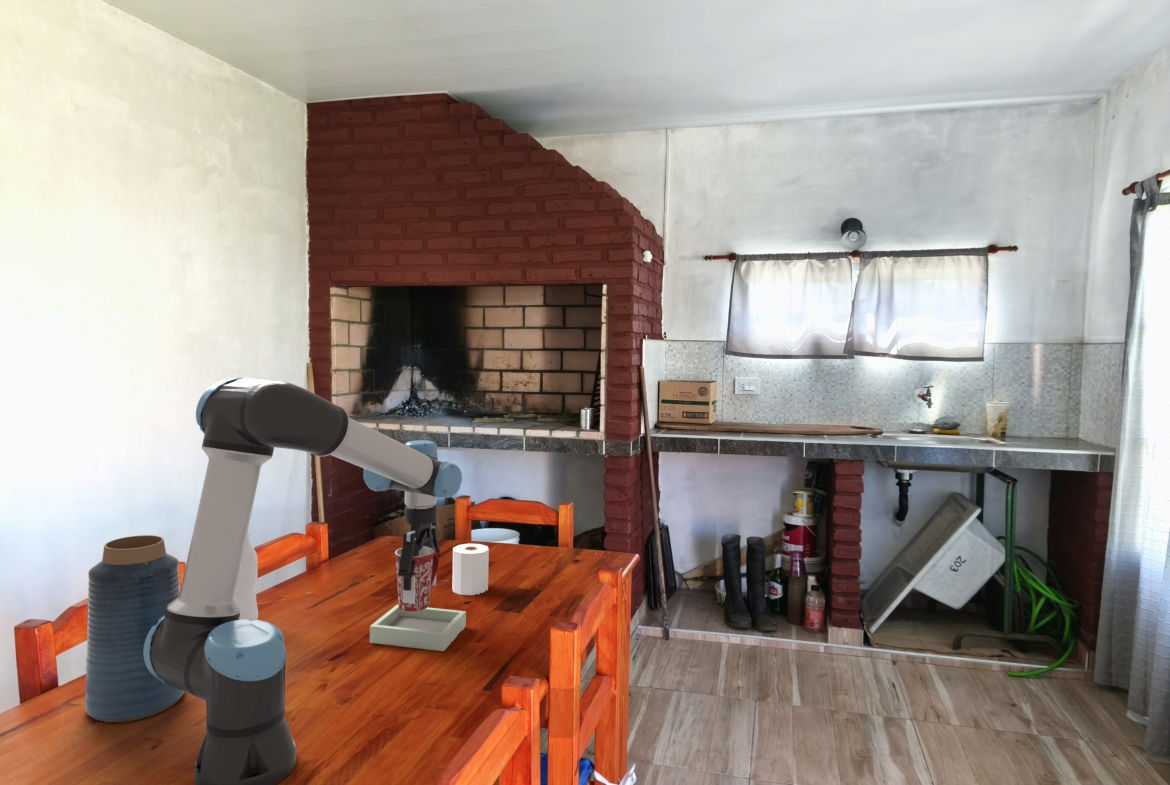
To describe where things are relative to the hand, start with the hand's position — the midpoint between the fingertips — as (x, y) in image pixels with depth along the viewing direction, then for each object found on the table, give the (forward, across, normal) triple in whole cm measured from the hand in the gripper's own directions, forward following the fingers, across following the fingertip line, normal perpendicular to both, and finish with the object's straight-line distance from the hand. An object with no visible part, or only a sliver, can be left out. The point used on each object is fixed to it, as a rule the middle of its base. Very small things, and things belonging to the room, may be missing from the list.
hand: (419, 593), depth 171 cm
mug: (+3, 0, 0) cm, 3 cm away
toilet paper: (+11, +33, -1) cm, 35 cm away
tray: (+10, 0, 0) cm, 10 cm away
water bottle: (+10, -7, +43) cm, 45 cm away
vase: (+10, -43, +39) cm, 59 cm away
